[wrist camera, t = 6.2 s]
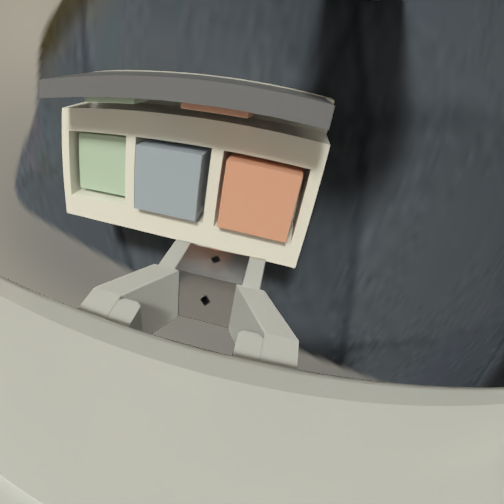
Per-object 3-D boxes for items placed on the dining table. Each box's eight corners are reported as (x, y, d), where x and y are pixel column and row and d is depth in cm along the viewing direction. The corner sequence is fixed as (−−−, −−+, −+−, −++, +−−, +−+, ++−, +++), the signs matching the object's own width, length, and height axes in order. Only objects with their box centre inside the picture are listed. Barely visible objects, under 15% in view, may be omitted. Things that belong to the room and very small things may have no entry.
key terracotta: (303, 165, 16) (303, 176, 14) (288, 225, 17) (285, 243, 16) (235, 150, 16) (226, 159, 14) (226, 210, 18) (216, 226, 16)
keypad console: (331, 98, 17) (348, 109, 10) (298, 224, 22) (292, 297, 15) (113, 70, 18) (33, 80, 11) (109, 183, 22) (43, 230, 16)
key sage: (144, 130, 17) (127, 137, 15) (141, 184, 19) (126, 196, 17) (97, 126, 17) (79, 133, 15) (97, 176, 19) (80, 187, 17)
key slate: (213, 146, 16) (202, 155, 14) (206, 206, 18) (194, 221, 16) (152, 136, 16) (135, 145, 14) (149, 194, 18) (134, 207, 16)
